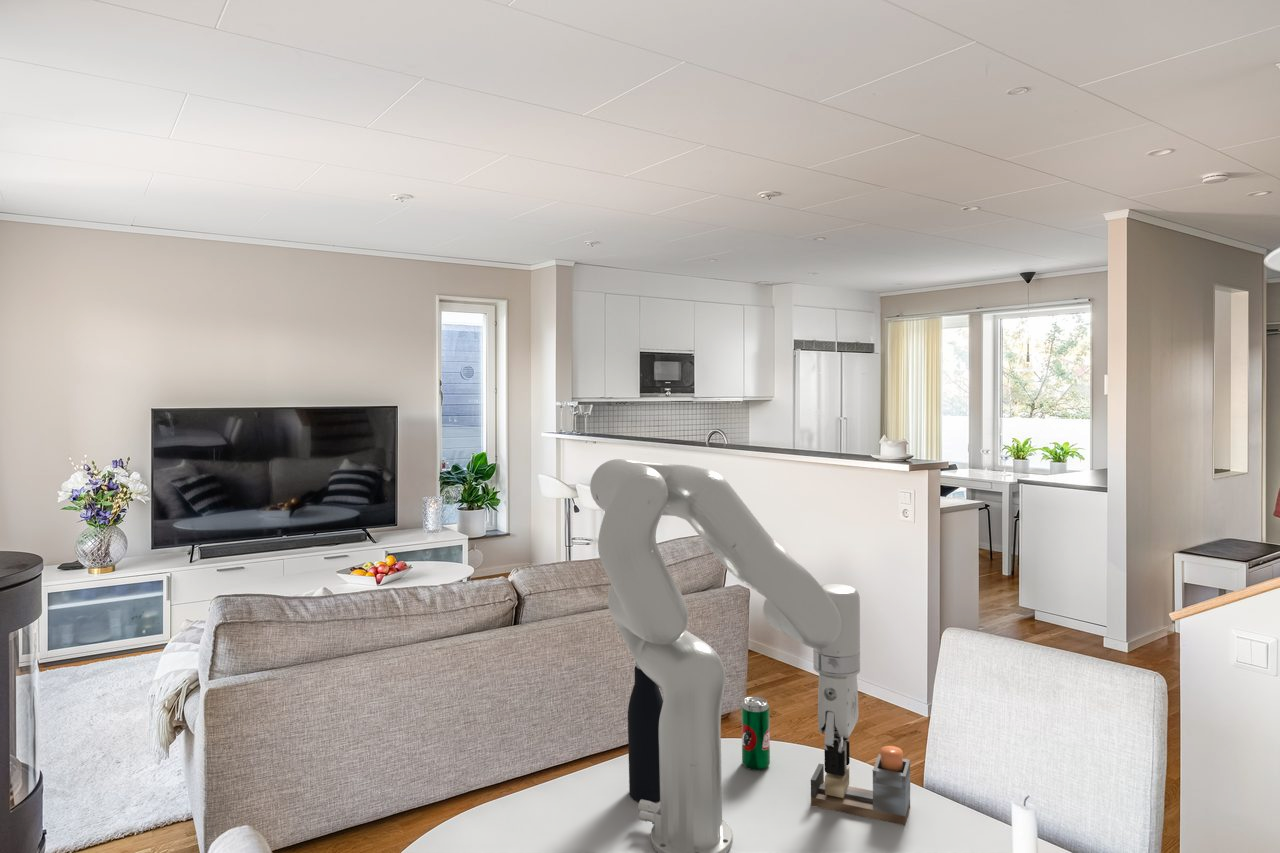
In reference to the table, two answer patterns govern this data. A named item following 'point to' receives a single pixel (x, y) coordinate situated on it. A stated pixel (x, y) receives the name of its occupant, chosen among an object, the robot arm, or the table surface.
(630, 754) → the wine bottle
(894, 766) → the button
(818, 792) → the stand
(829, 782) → the carriage
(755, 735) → the soda can
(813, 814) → the table surface
